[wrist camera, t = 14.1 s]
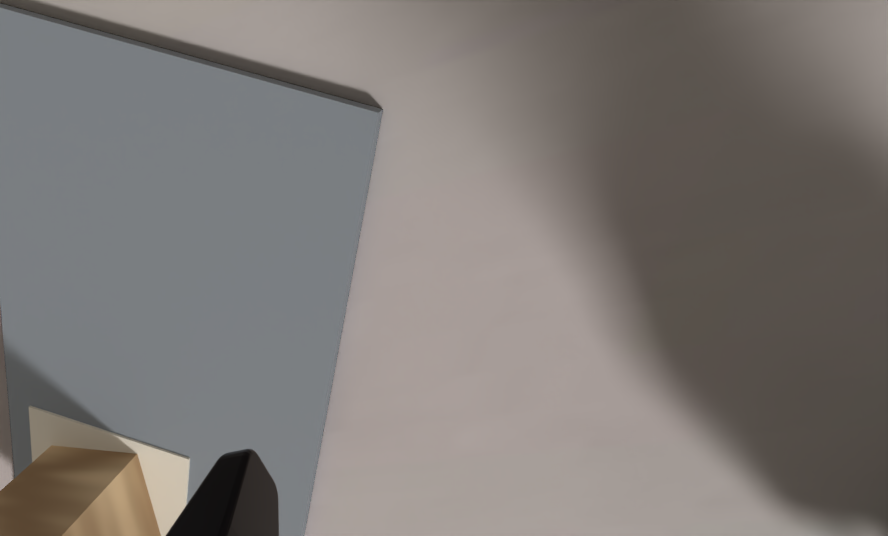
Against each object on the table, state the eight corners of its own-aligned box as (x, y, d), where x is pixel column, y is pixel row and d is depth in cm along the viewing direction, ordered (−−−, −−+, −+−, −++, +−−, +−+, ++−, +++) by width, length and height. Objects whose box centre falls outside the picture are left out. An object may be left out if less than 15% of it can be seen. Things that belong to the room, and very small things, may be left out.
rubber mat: (-12, 0, 21) (-28, 0, 21) (382, 109, 20) (377, 113, 20) (30, 563, 33) (20, 573, 32) (282, 650, 32) (277, 663, 31)
